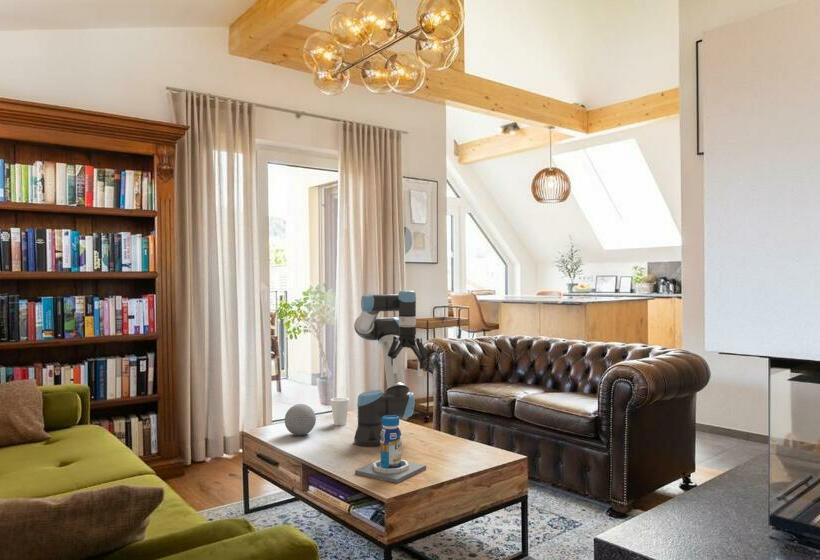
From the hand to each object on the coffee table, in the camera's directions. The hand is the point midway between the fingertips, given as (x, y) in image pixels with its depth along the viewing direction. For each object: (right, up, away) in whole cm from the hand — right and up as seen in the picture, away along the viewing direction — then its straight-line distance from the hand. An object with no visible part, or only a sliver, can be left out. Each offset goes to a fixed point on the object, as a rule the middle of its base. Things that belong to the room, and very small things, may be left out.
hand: (407, 374), depth 264 cm
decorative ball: (-52, -34, +31) cm, 70 cm away
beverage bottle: (-6, -33, -26) cm, 42 cm away
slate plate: (-6, -34, -26) cm, 43 cm away
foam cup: (-35, -34, +52) cm, 72 cm away
